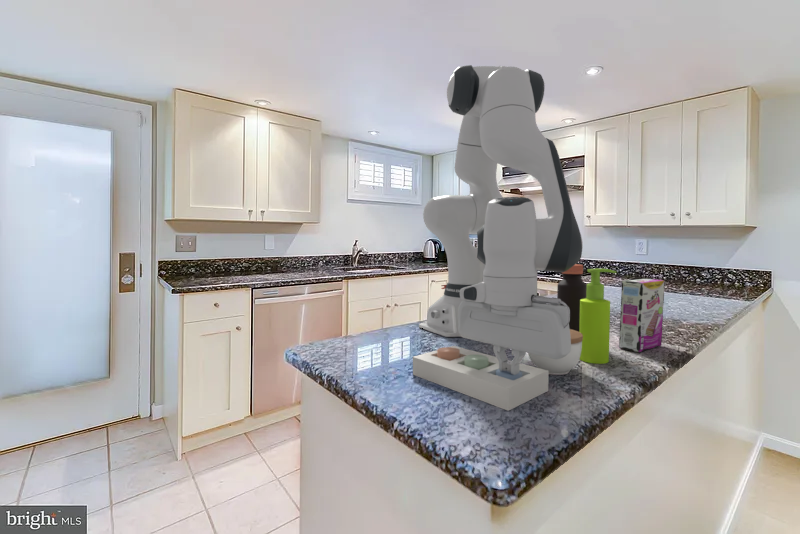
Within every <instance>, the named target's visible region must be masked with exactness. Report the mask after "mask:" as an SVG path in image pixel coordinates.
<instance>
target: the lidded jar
mask: <svg viewBox="0 0 800 534" xmlns="http://www.w3.org/2000/svg"><path fill="white" fill-rule="evenodd" d="M570 337H571V351H570V352H569V354H568V355H566V356H565V357H563V358H560V359H552V358H548V357H543V356H539V355H535V354H530V353H527V355H528V358H529V359H530V361H531V363H532V364H533V365H534V367H537V368H540V369H544V370H548V371H549V373H548V375H553V376H565V375H567V374H569V373H570V371H572V370H573V369H574V368H575V367H576V366H577V364H578V363H579V362H580V356H581V351H582V340H583V335H582V333H580V332H578V331H575V330H572V329H570Z"/></svg>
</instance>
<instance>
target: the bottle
mask: <svg viewBox="0 0 800 534" xmlns="http://www.w3.org/2000/svg"><path fill="white" fill-rule="evenodd" d="M583 274H584V264H577V263H576V264H575V265H574V266H573V267H571V268H570V269H568V270H567V271H565V272H563V273H561V276H562V279H561V280H560V281H559V282H557V285H556V287H557V288H556V289H557V290H556V291H557V293H556V295H557V297H556V298H559V299H561V301H562V302H564V303H566V305H567V306H568V307H569V309H570V321H569V329H572V330H575V331H578V332H579V325H580V300H581V299H585V298H586V291H587V284H586V282H584V280H583V279H582V276H583ZM560 305H562V304H560ZM562 306H564V305H562Z"/></svg>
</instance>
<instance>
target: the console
mask: <svg viewBox="0 0 800 534" xmlns="http://www.w3.org/2000/svg"><path fill="white" fill-rule="evenodd" d="M450 347H452V348H457V349H459V350H460V358H457V359H454V360H451V361H448V360H445V359H442V358H438V357H437V350H438V349H436V350H433V351H428V352H426V353H422V354H419V355H414V356H412V375H413V376H415V377H418V378H421V379H423V380H425V381H429V382H431V383H434V384H436V385H439V386H442V387H445V388H447V389H449V390H453V391H454V392H458V393H460V394H464V395H465V396H468V397H471V398H474V399H476V400H479V401H481V402H484V403H486V404H489V405H492V406H493V407H494V406H495V407H497V408H500V409H502V410H506V411H507V412H508V411H511V410H513V409H515V408H517V407H519V406H521V405H523V404H525V403H527V402H529V401H530V400H533V399H534V398H536V397H539V396H541V395H543V394H544V393H546V392H549V374H548V373H549V371H548V370H544V369H540V368H537V367H536V366H532V365H528V364H525V363H519V371H521V372H522V377H520V378H518V379H515V380H510V379H507V378H504V377H500V376H497V375H496V370H498V369H499V361H498V359H497V357H496V355H495V356H494V355H491V354H487V353H482V352H480V351H475V350H472V349H467V348H463V347H459V346H456V345H452V346H450ZM467 355H483V356H486V357H488V358H489V366H488V367H486V368H483V369H480V370H478V369H474V368H471V367H468V366H464V357H465V356H467ZM508 360H509V359H508ZM509 361H511V360H509Z"/></svg>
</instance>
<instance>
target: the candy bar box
mask: <svg viewBox="0 0 800 534" xmlns="http://www.w3.org/2000/svg"><path fill="white" fill-rule="evenodd" d="M665 285H666V281H665V280H663V279H656V278H655V279H654V278H653V279H652V278H639V279H630V280H629V279H628V280H622V281H621V294H620V297H621V299H620V319H619V321H620V323H619V338H618V340H619V342H618V344H619V345H618V348H619V349H622V350H627V351H630V352H634V353H641V352H645V351H648V350H651V349H653V348H658V347H661V346H662V342H663V341H662V339H663V338H662V337H663V319H664V305H665V304H664V303H665Z"/></svg>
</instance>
